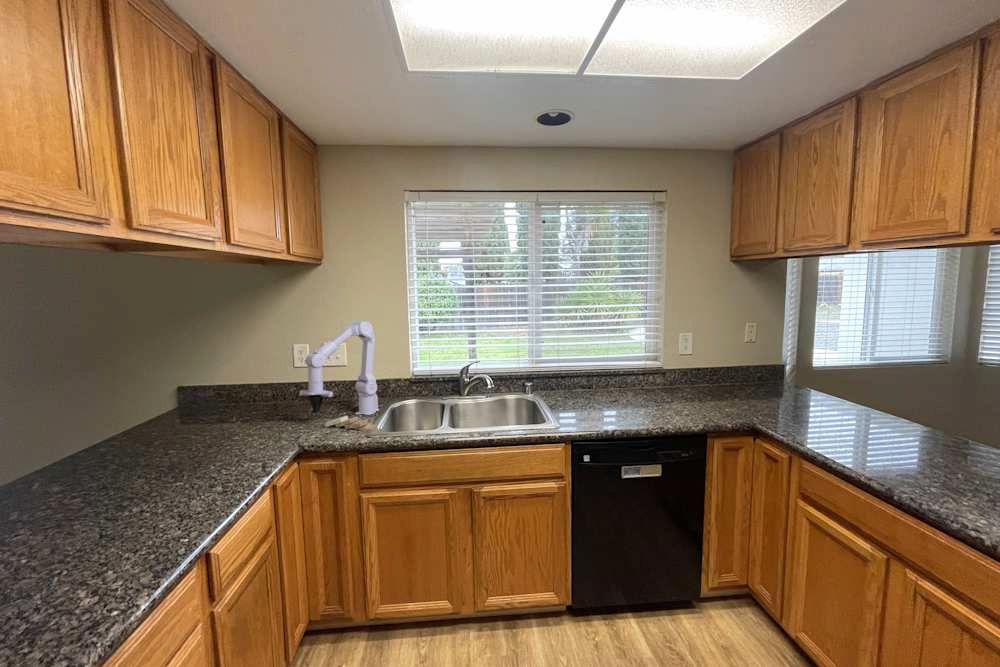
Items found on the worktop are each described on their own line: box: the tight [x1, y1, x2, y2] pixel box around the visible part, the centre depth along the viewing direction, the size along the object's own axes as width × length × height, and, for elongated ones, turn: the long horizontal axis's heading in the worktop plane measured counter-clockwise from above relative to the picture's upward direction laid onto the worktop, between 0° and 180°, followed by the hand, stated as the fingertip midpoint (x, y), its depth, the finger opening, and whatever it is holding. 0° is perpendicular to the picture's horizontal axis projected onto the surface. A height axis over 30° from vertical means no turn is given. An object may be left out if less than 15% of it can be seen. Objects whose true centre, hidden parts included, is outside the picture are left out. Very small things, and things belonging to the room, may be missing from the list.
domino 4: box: [353, 423, 378, 432], centre depth 176 cm, size 2×5×8 cm
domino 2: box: [334, 415, 359, 429], centre depth 178 cm, size 2×5×8 cm
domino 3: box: [344, 419, 369, 430], centre depth 176 cm, size 2×5×8 cm
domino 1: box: [324, 415, 349, 428], centre depth 179 cm, size 2×5×8 cm
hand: (316, 412), depth 181 cm, fingers closed
